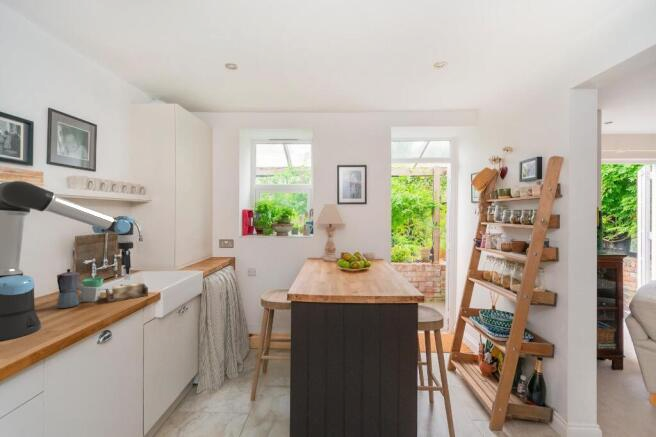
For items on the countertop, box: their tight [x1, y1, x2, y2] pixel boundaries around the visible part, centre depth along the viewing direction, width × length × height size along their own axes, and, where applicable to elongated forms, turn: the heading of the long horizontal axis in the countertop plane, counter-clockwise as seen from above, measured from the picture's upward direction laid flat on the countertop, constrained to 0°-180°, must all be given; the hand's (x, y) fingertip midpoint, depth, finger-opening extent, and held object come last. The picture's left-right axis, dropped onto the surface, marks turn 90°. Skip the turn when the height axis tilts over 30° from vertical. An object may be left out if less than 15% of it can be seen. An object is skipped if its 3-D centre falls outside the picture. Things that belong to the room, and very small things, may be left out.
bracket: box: [77, 283, 102, 304], centre depth 161 cm, size 11×4×10 cm, turn 100°
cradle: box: [105, 282, 149, 304], centre depth 168 cm, size 19×14×5 cm
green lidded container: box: [81, 276, 104, 291], centre depth 174 cm, size 15×10×10 cm
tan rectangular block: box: [111, 282, 143, 299], centre depth 169 cm, size 14×5×6 cm, turn 132°
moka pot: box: [56, 268, 80, 309], centre depth 152 cm, size 10×15×20 cm, turn 20°
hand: (125, 277), depth 168 cm, fingers open, 13 cm apart
